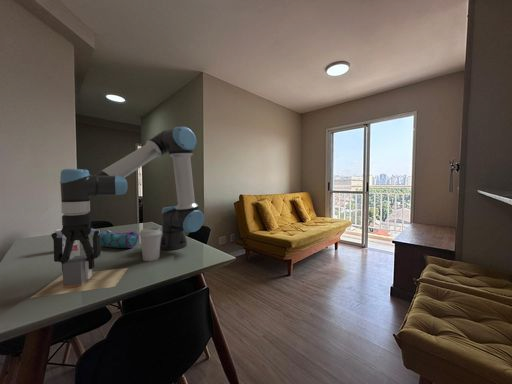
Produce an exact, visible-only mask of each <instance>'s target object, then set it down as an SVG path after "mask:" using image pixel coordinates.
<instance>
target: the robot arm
mask: <svg viewBox="0 0 512 384" xmlns="http://www.w3.org/2000/svg"><path fill="white" fill-rule="evenodd" d="M196 145H197V137H196V135H195V133H194V132H193V131H192V129H190V128H189V127H187V126H175V127H173V128H169V129H165V130H162V131H161V132H159V133H158V134H156V135H154V136H153V137H152V138H150V139H148V140H147V141H146V142H145V144H144V145H143V146H141V147H139V148H137V149H136V150H134V151H133V152H131V153H129V154H127V155H125V156H124V157H123V158H120V159H118V161H116V162H114V163H112V164H110V165H109V166H107V167H106V168H104V169H102V170H100V171H99V172H97V173H95V174H94V175H93V174H90V171H89V170H88V169H82V168H81V169H80V168H64V169H62V170H61V171H60V176H59V177H60V180H59V181H60V182H59V184H60V197H61V201H60V202H61V203H60V205H61V206H60V207H61V214H63V215H61V225H62V228H61V229H62V230H61V231H59V232H55V231H54V232H53V233H51V234H50V236H51V238H52V240H53V262H55V263H58V262H59V263H60V264H61V271H62V272H61V273H63V265H62V264H64V263H65V262H67V261H69V260H70V259H71V257H70V256H71V253H72V251H73V250H72V247H73V243H74V241H75V240H77V241H79V242H80V244H81V246H82V248H83V250H84V251H83V252H84V255H86V256H87V259H88V260H86V261H85V275H86V280H87V279H89V278H90V277H91V276H92V271H93V269H94V267H95V259H98V258H99V257H100V256H101V245H100V234H101V233H102V230H101V229H99V228H98V229H95V228H93V226H92V223H91V222H92V219H91V216H92V215H91V213H90V212H91V197H96V196H98V197H99V196H118V195H125V194H126V192H127V191H128V185H129V184H128V181H127V179H126V177H128V176H130V175H131V174H133V173H134V172H136V171H137V170H139V169H140V168H142V167H144V166H145V165H146V164H147V163H150V162H151V161H153V160H154V159H156V158H161V157H162V156H164V155H166V154H168V155H169V156H170V157H171V158H172V164H173V170H174V171H173V172H174V180H175V181H174V182H175V187H176V198H177V204H176V205H174V206H167V207H165V206H164V207H163V208H162V210H161V231H162V234H161V242H160V250H164V251H171V250H179V249H182V248H185V247H187V246H188V239H187V236H186V234H185V232H188V233H195V232H197V231H199V230H200V229H201V228H202V226H203V224H204V221H205V216H204V213H203V212H202V211H201V210H200V209H199V204H198V203H196V199H195V190H194V180H193V171H192V170H193V169H192V160H191V159H192V158H191V157H193V155H194V149H195V148H196ZM90 234H91V235H92V244H91V242H90V237H89V235H90ZM63 235H64V236H65V237H66V242H65V243H66V244H65V248H64V252H63V249H62V236H63ZM71 250H72V251H71Z"/></svg>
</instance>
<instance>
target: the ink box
mask: <svg viewBox="0 0 512 384" xmlns="http://www.w3.org/2000/svg"><path fill="white" fill-rule="evenodd" d="M61 230H62V228H59V229H55V231H54V233H55V232H59V231H61ZM65 242H66V237H65V236H64V235H63V236H62V249H63V252H64V248H65V244H66V243H65ZM76 250H78V240H75V241H74V243H73V247H72V250H71V252H72V251H76Z"/></svg>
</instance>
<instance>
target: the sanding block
mask: <svg viewBox="0 0 512 384" xmlns="http://www.w3.org/2000/svg"><path fill="white" fill-rule="evenodd" d="M86 260H88V259H87V256H86V254H84V255H83V254H82V255H75V256H74V257H72V258H69V260H68V261H67V262H65V263H64V264H62V263H61V266H62V265H63V272H62V275H63V288H68V287H76V286H82V285H83V284H84V283H85V282H86V281H87V280H88V279H87V280H86V275H85V261H86ZM93 272H94V270H92V276H93ZM92 276H91V277H92ZM91 277H90V278H91ZM90 278H89V279H90Z"/></svg>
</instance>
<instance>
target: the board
mask: <svg viewBox="0 0 512 384" xmlns="http://www.w3.org/2000/svg"><path fill="white" fill-rule="evenodd" d="M128 269H129V267H124V268H123V267H122V268H116V269H115V268H114V269H107V270H97V271H93V276H92V277H91V278H90V279H88V280H87V281H86V282H85V283H84V284H83V285H82V286H76V287H68V288H63V274H60V276H59V277H57V278H55V279H54V280H53V281H51V282H50V283H49V284H47V285H46V286H44V287H43V288H42V289H41V290H40V289H39V291H38V292H36V293H35V294H33V295H32V296H31V297H30V299H32V298H41V297H42V298H43V297H48V296H55V295H57V296H58V295H62V294H72V293H78V292H84V291H85V292H86V291H94V290H100V289H101V290H102V289H108V288H109V289H110V288H115V287H116V285H117V284H118V283H119V281H120V280H121V279H122V277H123V276H124V275H125V273H127V271H128Z"/></svg>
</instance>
